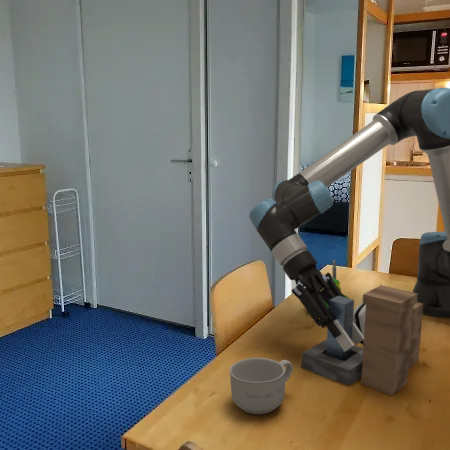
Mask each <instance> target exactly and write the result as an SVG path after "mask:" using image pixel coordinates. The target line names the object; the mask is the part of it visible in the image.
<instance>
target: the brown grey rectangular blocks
mask: <svg viewBox="0 0 450 450" xmlns="http://www.w3.org/2000/svg"><path fill="white" fill-rule="evenodd" d="M417 297H418V293H413V291H408V290H405V289H399V288H395V287H391V286H387V285H379V286H377V287H375V288H373V289H370V290H369V291H367V292H364V293H363V295H362V302H363V304H366V313H365V329H364V342H363V347H362V346H358V345H357V344H356V345H355V344H354V346H352V347H351V357H350V358H349V359H347V360H346V361H342V360H339V359H336V358H333V357H331V356H328V355H326V349H327V338H326V339H324V340H322V341H321V342H319V343H317V344H315V345H314V346H311V348H309V349H307V350H305V351H303V352H302V353H301V361H300V362H301V365H300V366H301V369H303V370H307V371H308V372H312V373H314V374H317V375H319V376H321V377H322V376H323V377H325V378H327V379H330V380H332V381H335V382H337V383H340V384H343V385H345V386H348V387H350V386H351V385H352V384H354V383H355V382H356V381H357V380H359V379H361V380H360V381H361V382H360V385H363V386H366V387H368V388H371V389H373V390H376V391H378V392H382V393H384V394H387V395H389V396H392V397H393V396H394V395H396V393H397V392H399V391H400V390H401V389H402V388H403V387H404V386H405V385H407V384H408V377H409V376H408V375H409V370H410V368H412V366H414V365H415V364H417V363H418V362H419V358H420V350H421V349H420V346H421V334H422V324H423V323H422V322H423V303H419V302H417Z"/></svg>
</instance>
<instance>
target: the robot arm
mask: <svg viewBox="0 0 450 450" xmlns="http://www.w3.org/2000/svg"><path fill="white" fill-rule="evenodd" d="M411 137H416V138H417V143H418V148H419V150H420V151H422V152H423V153H425V154H427V157H428V161H429V166H430V170H431V174H432V180H433V183H434V187H435V193H436V197H437V200H438V201H437V202H438V205H439V209H440V213H441V217H442V222H443V226H444V231H427V232H424V233H422V234H421V235H420V239H419V245H418V247H419V249H418V250H419V251H418V260H417V261H418V262H417V263H418V264H417V273H416V274H417V275H416V282H415V285H414V287H413V289H412V292H413V293H418V297H417V302H419V303H423V313H422V315H423V314H424V315H426V316H427V315H428V316H432V317H440V318H450V87H437V88H436V87H435V88H430V89H419V90H414V91H409V92H407V93H405V94H404V95H402V96H400V97H398V98H397V99H396V100H394V101H393V102H391V103H389V105H387V106H386V107H384V108H383V109H382V110H380V111H379V112H377V113H376V114H374V115H373V117H372V121H371V122H369V123H368V124H367V125H365V126H364V127H362V128H361V129H360V130H357V131H356V132H355V133H354V134H353V135H351V136H349V137H348V138H347V139H346V140H344V141H343V142H341V143H340V144H338V145H337V146H336V147H335V146H334V148H332V149H331V150H330V151H328V152H327V153H325V154H323V156H321V157H319V158H318V159H316V161H314V162H312V163H311V164H310V165H309V166H306V167H305V168H304V169H302V170H301V171H300V172H298V173H297V174H295V175H294V176H292V177H291V178H290V179H283V180H281V181H278V182H277V183H276V184H275V185H274V187H273V189H272V192H271V197H272V198H266V199H265V200H262V201H259V203H257V204H256V205H255V206H254V207H253V208H251V210H250V212H249V216H248V218H249V220H250V222H251V224H252V225H253V227H254V228H255V229H256V232H257V233H258V234H259V236H260V237H261V239H262V241H263V242H264V243H265V245H266V246H267V247H268V249H269V251H270V252H271V253H272V255H273V256H274V257H275V259H276V260H277V262H278V264H279V265H280V266H283V267H282V270H283V271H284V273H285V274H286V276H287V277H288V279H289V280H291V281H294V282H295V286H294V287H293V288H292V289H291V293H292V294H293V295H294V296H295V297H296V298H297V299H298V300H299V302H300V303H301V304H302V306H303V307H304V309H305V310H306V311H307V313H308V314H309V316H310V317H311V319H313V322H314V323H315V324H316V326H317V327H321V328H322V329H323V328H328V330H329V331H330V332H331V334H332V335H333V337H334V338H335V339H336V340H337V342H338V343H339V344H340V346H341V347H342V349H343V350H344V352H345V351H347V350H348V349H349V348H351V347H352V346H354V345H356V346H357V344H359V343H361V342H362V340H364V336H363V335H362V333H361V332H360V330H359V329H358V327H357V326H356V324H355V322H354V321H353V329H352V341H351V339H350V338H349V336H348V335H347V333H346V332H345V330H344V329H343V328H342V326H341V325H340V323H339V322H338V320H337V319H336V320H335V321H333V320H334V319H333V317H332V315H331V313H330V311H329V309H328V308H327V306H326V304H325V302H326V303H327V304H328V305H329V300H330V299H332V298H334V297H337V296H341V297H344V296H343V294H344V293H342V290H341V291H340V290H339V288H338V287H337V285H336V284H335V282H334V281H333V278H332V273H330V272H326V273H322V272H321V271H320V270H319V269H318V268H317V264H318V260H317V259H316V258H315V256H313V253H312V252H311V250H308V247H307V245H306V244H305V242H304V241H303V240H302V238H301V237H300V235H299V234H298V233H297V231H296V229H298V228H300V227H301V226H303V225H305V224H307V223H308V222H310V221H311V220H313V219H314V218H316V217H318V216H319V215H321V214H324V213H325V211H328V209H330V208H331V207H333V205H334V199H333V195H332V193H331V192H330V190H329V186H331V185H333V184H334V183H335V182H337V181H338V180H340V179H341V178H343V177H344V176H346V175H347V174H349V173H350V172H351V171H353V170H354V169H356V168H357V167H359V166H360V165H362V164H363V163H364V162H365V161H367V160H369V159H370V158H371V157H373V156H375V155H376V154H377V153H379V152H380V151H381V150H382V149H384V148H385V147H387V146H388V145H389V146H390V145H391V146H394V145H396V144H398V143H400V142H401V141H402V140H404V139H408V138H411ZM323 288H324V289H323ZM322 289H323V290H322ZM324 301H325V302H324Z"/></svg>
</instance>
